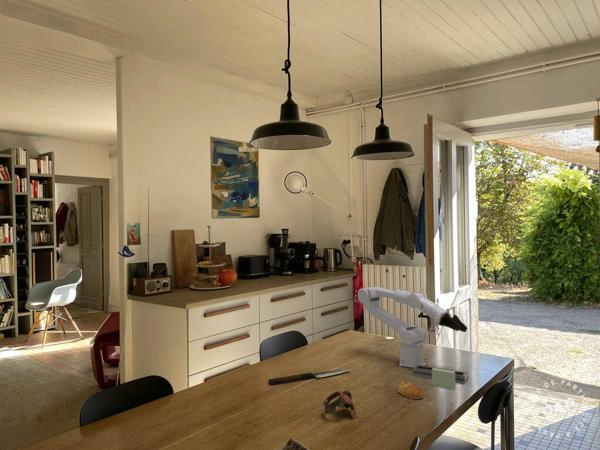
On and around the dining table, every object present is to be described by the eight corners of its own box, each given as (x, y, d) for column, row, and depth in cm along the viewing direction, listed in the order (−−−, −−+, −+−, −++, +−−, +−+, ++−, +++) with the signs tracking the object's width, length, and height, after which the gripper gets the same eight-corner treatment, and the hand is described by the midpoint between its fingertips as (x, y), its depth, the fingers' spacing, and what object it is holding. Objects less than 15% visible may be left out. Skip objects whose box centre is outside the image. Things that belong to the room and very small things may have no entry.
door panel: (432, 385, 171) (431, 369, 171) (433, 383, 173) (433, 368, 173) (453, 389, 167) (453, 373, 167) (455, 387, 168) (455, 371, 168)
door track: (411, 375, 182) (411, 369, 182) (417, 369, 189) (417, 363, 189) (463, 384, 172) (463, 377, 172) (468, 378, 178) (468, 371, 178)
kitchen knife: (273, 382, 171) (268, 378, 175) (273, 388, 171) (268, 383, 175) (354, 368, 186) (348, 365, 190) (354, 374, 186) (348, 370, 190)
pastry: (428, 398, 159) (428, 387, 159) (412, 402, 156) (412, 391, 156) (410, 389, 167) (410, 379, 167) (395, 393, 164) (395, 382, 164)
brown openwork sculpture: (353, 425, 139) (339, 402, 139) (329, 432, 144) (315, 410, 143) (364, 401, 150) (351, 380, 149) (341, 408, 154) (328, 388, 154)
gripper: (431, 300, 182) (461, 319, 173) (445, 304, 193) (474, 322, 184) (423, 316, 183) (452, 335, 174) (437, 319, 194) (465, 337, 185)
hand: (462, 329), depth 179 cm, fingers open, 7 cm apart
